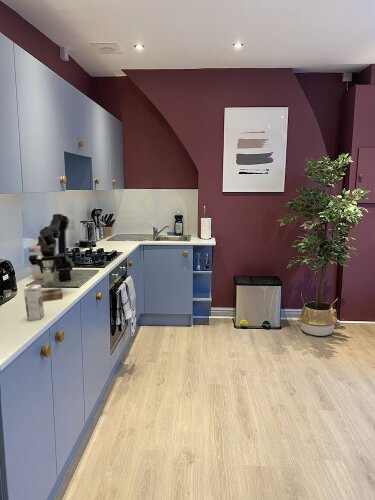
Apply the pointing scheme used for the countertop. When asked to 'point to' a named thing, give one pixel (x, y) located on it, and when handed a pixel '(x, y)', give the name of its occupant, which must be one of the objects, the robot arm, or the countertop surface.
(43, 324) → the countertop surface
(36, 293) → the syrup box
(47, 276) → the spice tin
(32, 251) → the cracker box
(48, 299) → the walnut block
